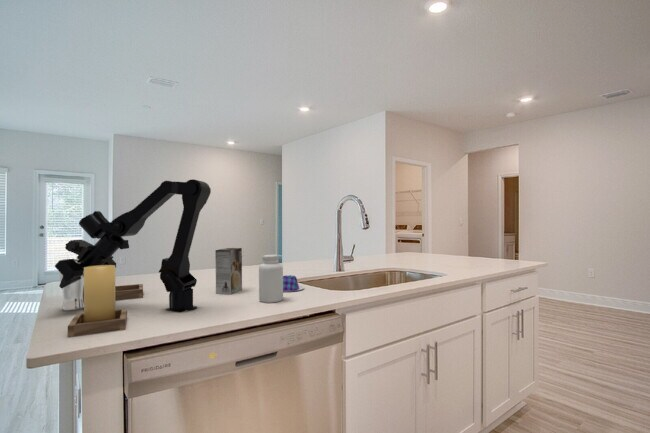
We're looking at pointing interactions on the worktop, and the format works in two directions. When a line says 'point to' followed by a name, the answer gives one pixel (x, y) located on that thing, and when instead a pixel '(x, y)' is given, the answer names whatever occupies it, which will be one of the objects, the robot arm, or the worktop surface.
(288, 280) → the plaid hat
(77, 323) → the brown square tray piece
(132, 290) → the empty pocket
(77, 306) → the beer glass
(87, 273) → the cream pillar candle
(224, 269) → the coffee box
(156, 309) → the worktop surface
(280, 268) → the pill bottle
